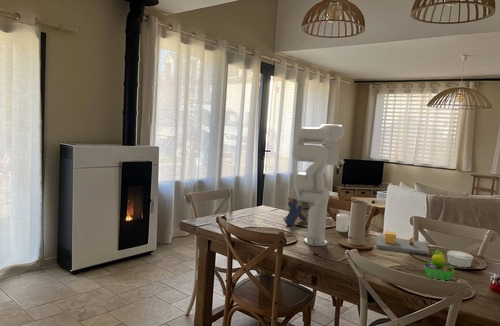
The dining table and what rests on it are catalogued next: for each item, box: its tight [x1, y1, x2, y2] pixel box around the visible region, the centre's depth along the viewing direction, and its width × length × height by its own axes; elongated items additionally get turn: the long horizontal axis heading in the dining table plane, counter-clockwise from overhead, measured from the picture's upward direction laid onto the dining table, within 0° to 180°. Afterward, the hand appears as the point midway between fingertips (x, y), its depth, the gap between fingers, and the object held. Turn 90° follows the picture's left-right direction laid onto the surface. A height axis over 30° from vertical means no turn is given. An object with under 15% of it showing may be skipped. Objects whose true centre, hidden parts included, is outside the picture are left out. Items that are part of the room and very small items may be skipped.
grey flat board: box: [375, 235, 431, 256], centre depth 204 cm, size 18×26×2 cm
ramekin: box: [446, 250, 474, 269], centre depth 181 cm, size 11×11×5 cm
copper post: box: [408, 236, 415, 245], centre depth 202 cm, size 2×2×4 cm
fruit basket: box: [423, 250, 455, 281], centre depth 163 cm, size 11×9×11 cm
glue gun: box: [284, 197, 309, 227], centre depth 241 cm, size 6×31×15 cm
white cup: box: [335, 213, 350, 233], centre depth 231 cm, size 8×8×10 cm
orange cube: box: [383, 230, 397, 244], centre depth 206 cm, size 6×6×5 cm
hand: (328, 174), depth 222 cm, fingers open, 9 cm apart
